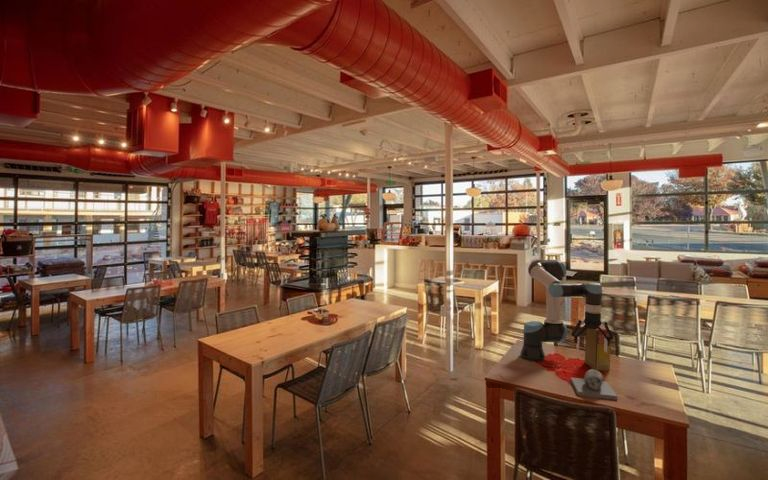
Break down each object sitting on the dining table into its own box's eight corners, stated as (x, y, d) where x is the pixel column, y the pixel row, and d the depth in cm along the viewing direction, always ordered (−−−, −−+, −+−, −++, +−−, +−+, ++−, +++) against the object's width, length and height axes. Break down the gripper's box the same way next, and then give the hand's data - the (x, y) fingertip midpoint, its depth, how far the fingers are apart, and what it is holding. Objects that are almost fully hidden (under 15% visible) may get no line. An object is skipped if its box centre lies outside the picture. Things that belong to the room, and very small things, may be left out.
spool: (605, 388, 190) (596, 368, 194) (586, 392, 195) (577, 373, 199) (609, 385, 200) (600, 366, 204) (591, 389, 205) (583, 371, 209)
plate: (578, 395, 194) (578, 391, 194) (570, 380, 211) (570, 377, 211) (617, 399, 189) (617, 396, 189) (606, 384, 206) (606, 381, 206)
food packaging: (610, 370, 225) (612, 330, 223) (595, 370, 225) (596, 330, 224) (598, 362, 238) (599, 323, 237) (583, 362, 238) (584, 323, 237)
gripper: (568, 311, 199) (567, 350, 201) (621, 315, 193) (619, 355, 194) (566, 308, 207) (564, 345, 208) (616, 311, 200) (615, 350, 201)
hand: (591, 350), depth 201 cm, fingers open, 13 cm apart
